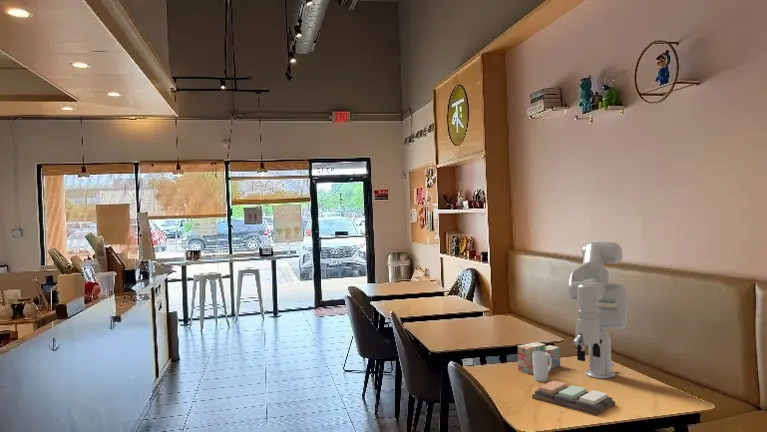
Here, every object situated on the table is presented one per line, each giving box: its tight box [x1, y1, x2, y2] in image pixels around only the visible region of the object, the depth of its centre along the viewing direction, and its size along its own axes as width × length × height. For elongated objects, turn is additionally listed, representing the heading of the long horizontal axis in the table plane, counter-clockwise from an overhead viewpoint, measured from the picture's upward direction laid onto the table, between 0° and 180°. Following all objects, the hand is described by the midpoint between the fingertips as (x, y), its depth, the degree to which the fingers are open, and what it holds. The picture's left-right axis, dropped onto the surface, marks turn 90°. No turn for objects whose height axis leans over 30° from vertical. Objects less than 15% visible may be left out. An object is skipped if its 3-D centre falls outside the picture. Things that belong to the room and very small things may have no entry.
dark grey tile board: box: [531, 385, 616, 417], centre depth 224 cm, size 15×28×3 cm, turn 42°
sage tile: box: [559, 385, 587, 400], centre depth 223 cm, size 11×6×2 cm, turn 132°
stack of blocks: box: [517, 341, 561, 375], centre depth 268 cm, size 21×6×12 cm, turn 117°
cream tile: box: [579, 389, 609, 405], centre depth 217 cm, size 11×6×2 cm, turn 132°
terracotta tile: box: [538, 380, 567, 394], centre depth 230 cm, size 11×6×2 cm, turn 132°
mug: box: [532, 351, 552, 382], centre depth 253 cm, size 10×7×12 cm, turn 116°
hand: (589, 358), depth 219 cm, fingers open, 9 cm apart
